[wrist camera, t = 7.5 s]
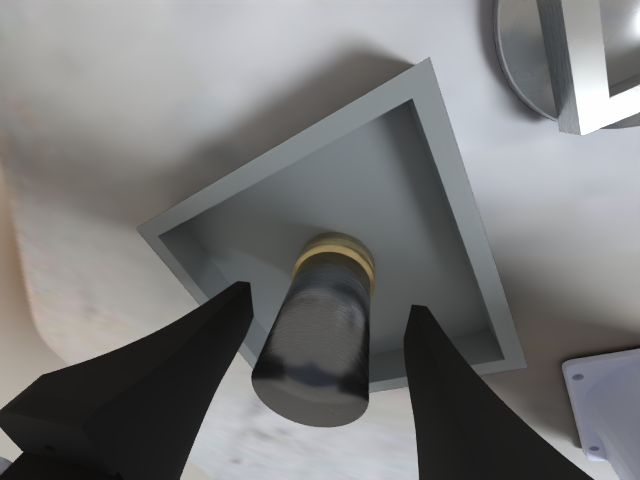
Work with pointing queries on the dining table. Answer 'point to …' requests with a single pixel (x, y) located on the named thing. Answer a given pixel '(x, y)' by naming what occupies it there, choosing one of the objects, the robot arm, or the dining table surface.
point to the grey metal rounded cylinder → (321, 336)
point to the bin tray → (355, 227)
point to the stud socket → (573, 60)
